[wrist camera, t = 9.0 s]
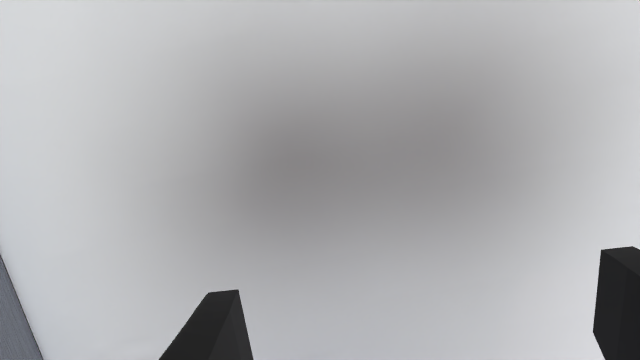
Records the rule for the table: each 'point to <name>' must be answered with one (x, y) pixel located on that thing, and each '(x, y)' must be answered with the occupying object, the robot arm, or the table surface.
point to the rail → (14, 325)
